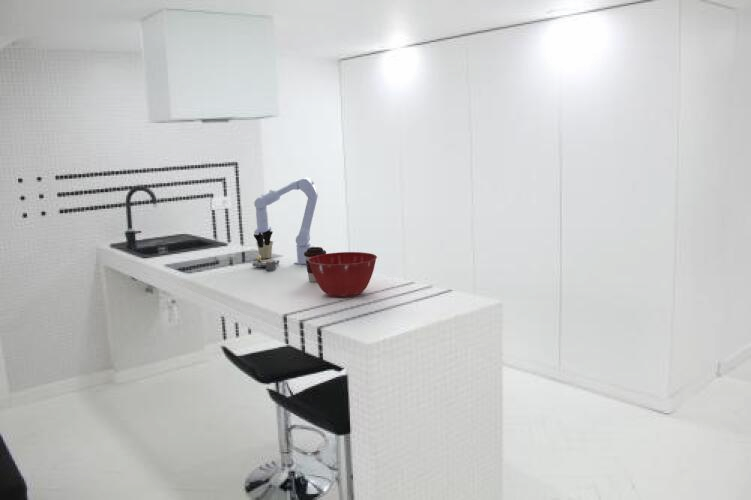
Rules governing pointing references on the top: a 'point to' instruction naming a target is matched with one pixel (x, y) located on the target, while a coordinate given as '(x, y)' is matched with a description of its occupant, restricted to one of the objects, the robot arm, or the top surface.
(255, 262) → the sprocket
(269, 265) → the cube with orange inset
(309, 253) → the coffee cup
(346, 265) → the mixing bowl
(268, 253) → the flower pot
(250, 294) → the top surface
